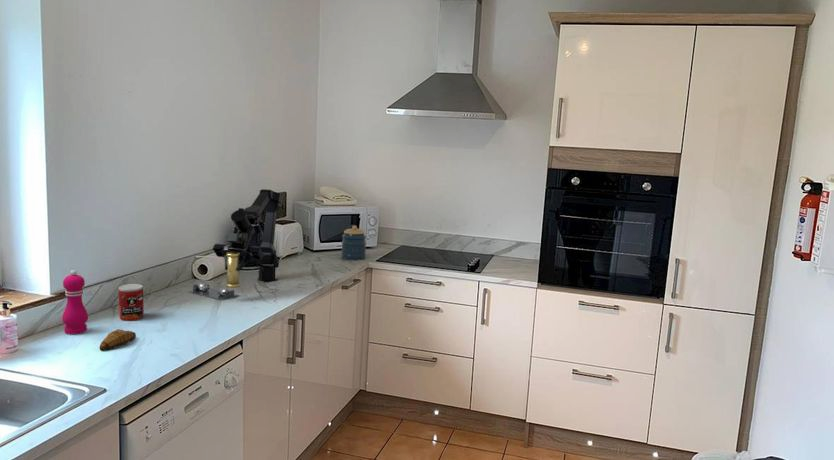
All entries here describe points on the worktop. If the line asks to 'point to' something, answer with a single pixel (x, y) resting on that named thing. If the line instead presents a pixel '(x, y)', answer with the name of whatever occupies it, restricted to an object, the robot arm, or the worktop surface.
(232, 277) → the gold flanged cylinder
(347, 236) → the canister
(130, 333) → the croissant
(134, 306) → the canned food
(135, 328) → the worktop surface
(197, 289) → the shaft bed
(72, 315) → the pepper mill
